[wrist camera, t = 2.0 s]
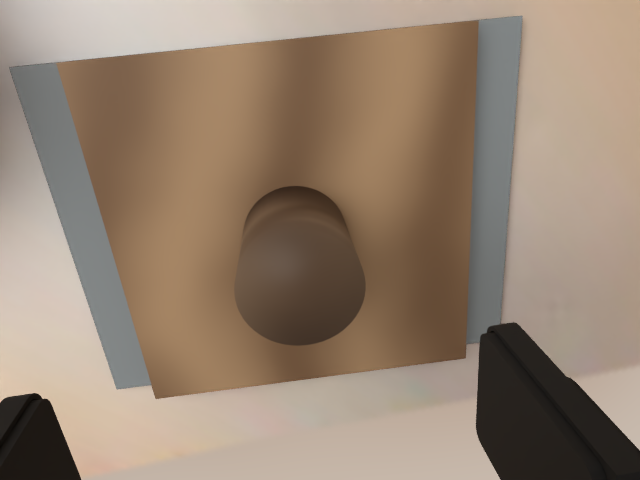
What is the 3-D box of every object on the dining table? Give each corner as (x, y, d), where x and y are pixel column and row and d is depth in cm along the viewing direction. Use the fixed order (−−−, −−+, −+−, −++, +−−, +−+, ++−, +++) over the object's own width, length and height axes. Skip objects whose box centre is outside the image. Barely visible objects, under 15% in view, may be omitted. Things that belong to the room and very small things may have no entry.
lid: (467, 21, 17) (547, 15, 12) (457, 345, 22) (509, 432, 18) (68, 61, 16) (-22, 72, 11) (160, 383, 22) (127, 485, 17)
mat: (517, 16, 17) (522, 15, 17) (495, 334, 23) (499, 339, 23) (15, 66, 17) (8, 67, 16) (119, 383, 22) (116, 389, 22)
